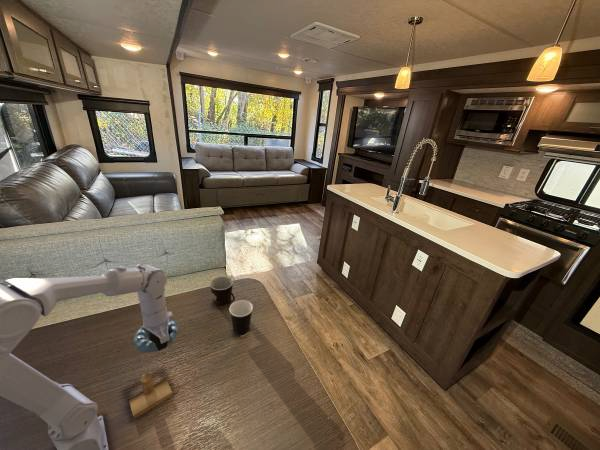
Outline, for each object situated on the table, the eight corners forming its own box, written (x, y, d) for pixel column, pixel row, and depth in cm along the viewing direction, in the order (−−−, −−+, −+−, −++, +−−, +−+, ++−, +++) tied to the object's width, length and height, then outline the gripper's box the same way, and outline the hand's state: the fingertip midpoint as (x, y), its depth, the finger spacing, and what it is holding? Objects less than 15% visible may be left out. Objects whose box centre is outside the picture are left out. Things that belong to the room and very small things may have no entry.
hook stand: (172, 395, 67) (169, 380, 64) (134, 419, 61) (129, 403, 58) (162, 370, 73) (159, 356, 70) (126, 390, 67) (121, 375, 64)
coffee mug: (210, 298, 102) (208, 278, 98) (231, 294, 106) (230, 274, 102) (213, 318, 93) (212, 297, 89) (236, 312, 96) (236, 292, 92)
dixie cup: (254, 337, 86) (255, 313, 82) (231, 343, 83) (230, 318, 79) (250, 321, 93) (250, 298, 89) (228, 325, 90) (227, 302, 86)
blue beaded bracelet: (183, 340, 74) (182, 333, 72) (140, 362, 66) (138, 354, 65) (170, 318, 81) (169, 311, 80) (130, 335, 73) (128, 328, 72)
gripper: (179, 315, 63) (184, 353, 68) (161, 287, 72) (167, 322, 78) (148, 329, 58) (156, 368, 64) (133, 296, 68) (141, 333, 73)
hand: (160, 343), depth 70 cm, fingers closed on blue beaded bracelet, 3 cm apart
